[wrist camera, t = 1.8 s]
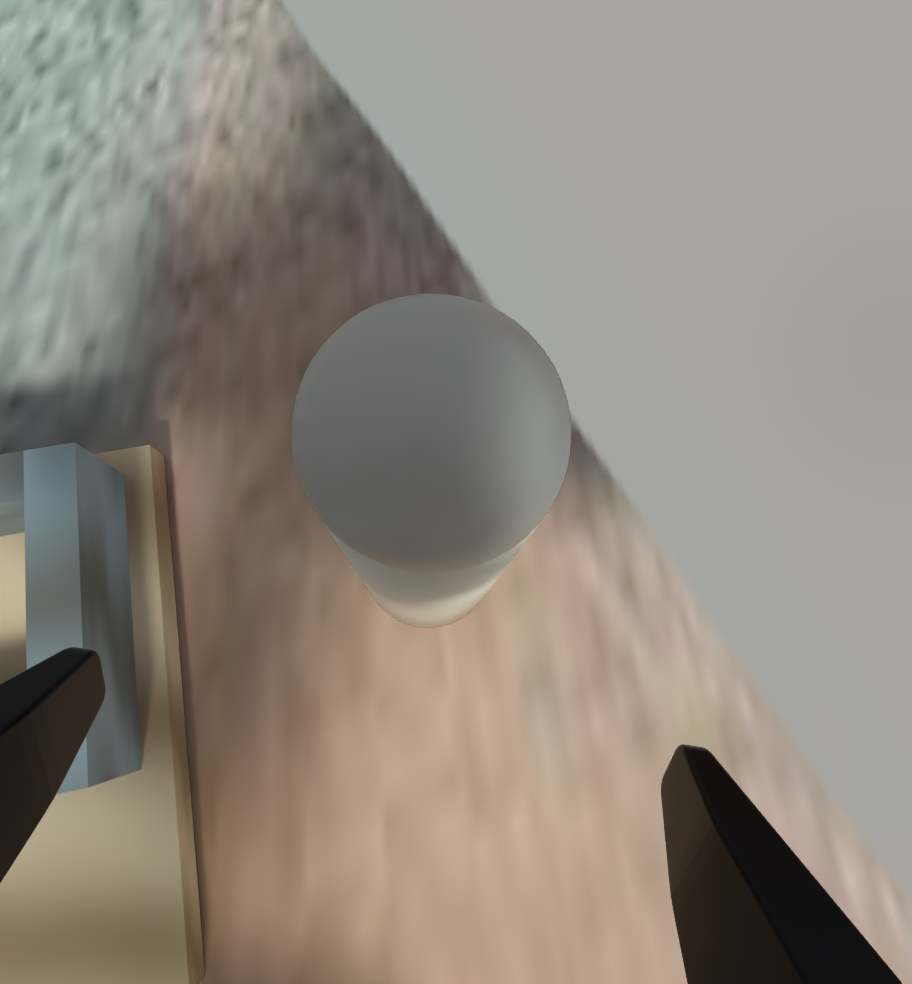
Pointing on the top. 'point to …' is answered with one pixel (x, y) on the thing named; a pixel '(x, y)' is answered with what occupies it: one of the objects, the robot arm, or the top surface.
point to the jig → (101, 724)
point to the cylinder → (430, 449)
